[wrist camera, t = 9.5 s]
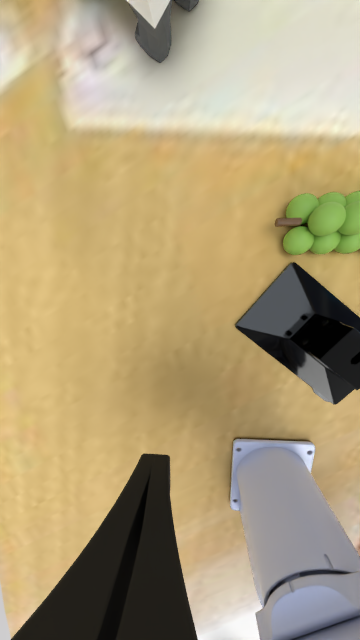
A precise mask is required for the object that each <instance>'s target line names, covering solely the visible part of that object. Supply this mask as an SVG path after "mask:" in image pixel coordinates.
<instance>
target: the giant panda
mask: <svg viewBox="0 0 360 640" xmlns="http://www.w3.org/2000/svg"><path fill="white" fill-rule="evenodd" d="M126 1H127V2H128V3H129V5H130V6H131V8H132V10H133V12H134V14H135V15H136V17H137V19H138V23H137V27H136V31H135V38H136V40H137V42H138V43H139V45H140V46H141V47H142V48H143V49H144V50H145V51H146V53H147V54H148V55H149V56H151V57H152V58H154V59H155V60H157V61H158V62H160V63H161V62H162V61H163V60H164V59H165V58H166V57H167V56H168V53H169V50H170V46H171V26H170V15H171V7H172V0H126ZM174 1H175V2H176V3H177V4H178V5H180V6H181V7H183V8H184V9H186V10H188V11H190V10H191V9H192V8H193V7H194V6H195V5H196V4H197V3H198V0H174Z"/></svg>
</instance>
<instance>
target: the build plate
mask: <svg viewBox="0 0 360 640" xmlns="http://www.w3.org/2000/svg"><path fill="white" fill-rule="evenodd" d="M235 327H236V328H237V329H238V330H240V331H241V332H242V333H243V334H245V335H246V336H247V337H248V338H250V339H251V340H252V341H254V342H255V343H256V344H257V345H259V346H260V347H261V348H262V349H264V350H265V351H266V352H268V353H269V354H270V355H271V356H273V357H274V358H275V359H277V360H278V361H279V362H280V363H282V364H283V365H284V366H285V367H287V368H288V369H289V370H291V371H292V372H293V373H294V374H296V375H297V376H298V377H299V378H301V379H302V380H303V381H305V382H306V383H307V384H308V385H310V386H311V387H312V388H313V391H314V393H316V394H317V395H318V396H319V397H321V398H322V399H323V400H325V401H328V402H331V403H333V404H337V403H339V402H340V401H341V400H342V399H343V398H345V397H346V396H347V395H348V394H349V393H351V392H352V391H353V390H354V389H356V390H358V389H360V318H359V317H358V316H357V315H356V314H355V313H354V312H352V311H351V310H350V309H349V308H348V307H346V306H345V305H344V304H343V303H342V302H341V301H339V300H338V299H337V298H336V297H335V296H334V295H332V294H331V293H330V292H329V291H328V290H327V289H325V288H324V287H323V286H322V285H321V284H320V283H318V282H317V281H316V280H315V279H314V278H313V277H311V276H310V275H309V274H308V273H307V272H306V271H304V270H303V269H302V268H301V267H300V266H299V265H297V264H296V263H295V262H293V263H290V264H289V265H288V266H287V267H286V268H285V269H284V270H283V271H282V272H281V274H280V275H279V276H278V277H277V278H276V279H275V280H274V281H273V283H272V284H271V285H270V286H269V287H268V288H267V289H266V290H265V292H264V293H263V294H262V295H261V296H260V297H259V298H258V299H257V301H256V302H255V303H254V304H253V305H252V306H251V307H250V308H249V310H248V311H247V312H246V313H245V314H244V315H243V316H242V317H241V319H240V320H239V321H238V322H237V323H236V324H235Z"/></svg>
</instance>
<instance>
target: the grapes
mask: <svg viewBox="0 0 360 640" xmlns="http://www.w3.org/2000/svg"><path fill="white" fill-rule="evenodd" d="M286 217H287V218H278V219H276V221H275V226H276V227H281V226H298V227H295V228H293V229H291V230H290V231H289V232H288V233H287V234H286V235H285V237H284V240H283V247H284V249H285V251H286V252H288V253H289V254H292V255H299V254H303V253H305V252H306V251H308V250H310V251H311V252H313V253H315V254H325V253H328V252H330V251H332V250H333V249H334V250H335V251H337V252H339V253H343V254H346V253H352V252H355V251H357V250H358V249H360V191H356V192H353V193H351V194H349V195H347V196H346V197H344V196H343V195H342V194H341V193H338V192H330V193H327V194H324V195H323V196H321V197H320V198H318V199H317V198H316V197H315V196H314V195H312V194H309V193H305V194H301V195H298V196H297V197H295V198H294V199H293V200H292V201H291V202H290V203H289V205H288V207H287V210H286ZM306 223H308V227H306V226H299V225H303V224H306Z"/></svg>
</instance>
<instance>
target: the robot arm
mask: <svg viewBox="0 0 360 640" xmlns="http://www.w3.org/2000/svg"><path fill="white" fill-rule="evenodd" d="M314 453H315V446H314V444H313V443H312V442H307V441H280V440H254V439H236V440H234V442H233V456H232V474H231V493H230V507H231V509H232V510H239V511H240V513H241V518H242V524H243V529H244V534H245V539H246V544H247V549H248V554H249V559H250V564H251V569H252V574H253V579H254V584H255V588H256V591H257V595H258V597H259V600H260V603H261V605H262V607H263V609H262V610H260V611H258V612H256V619H257V625H258V630H259V636H260V640H360V556H359V555H358V553H357V551H356V549H355V548H354V546H353V544H352V543H351V541H350V539H349V538H348V536H347V534H346V532H345V531H344V529H343V527H342V526H341V524H340V522H339V521H338V519H337V517H336V516H335V514H334V512H333V510H332V509H331V507H330V505H329V504H328V502H327V500H326V499H325V497H324V495H323V493H322V492H321V490H320V488H319V487H318V485H317V483H316V482H315V480H314V478H313V477H312V475H311V470H312V464H313V458H314ZM11 640H198V639H197V635H196V631H195V627H194V622H193V618H192V614H191V610H190V606H189V602H188V597H187V593H186V588H185V583H184V579H183V574H182V569H181V564H180V559H179V554H178V548H177V543H176V537H175V531H174V524H173V517H172V510H171V501H170V457H169V456H168V455H159V454H143V455H141V458H140V460H139V462H138V464H137V466H136V468H135V470H134V471H133V473H132V475H131V477H130V479H129V480H128V482H127V484H126V486H125V487H124V489H123V491H122V492H121V494H120V496H119V497H118V499H117V501H116V502H115V504H114V506H113V507H112V509H111V510H110V512H109V513H108V515H107V516H106V518H105V519H104V521H103V522H102V524H101V525H100V527H99V528H98V530H97V531H96V533H95V534H94V536H93V537H92V539H91V540H90V541H89V543H88V544H87V546H86V547H85V548H84V550H83V551H82V552H81V554H80V555H79V557H78V558H77V559H76V561H75V562H74V563H73V564H72V566H71V567H70V568H69V570H68V571H67V572H66V574H65V575H64V576H63V577H62V579H61V580H60V581H59V583H58V584H57V585H56V586H55V588H54V589H53V590H52V591H51V593H50V594H49V595H48V596H47V598H46V599H45V600H44V601H43V602H42V604H41V605H40V606H39V607H38V608H37V610H36V611H35V612H34V613H33V614H32V615H31V617H30V618H29V619H28V620H27V621H26V622H25V624H24V625H23V626H22V627H21V628H20V630H19V631H18V632H17V633H16V634H15V635H14V637H13V638H12V639H11Z"/></svg>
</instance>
